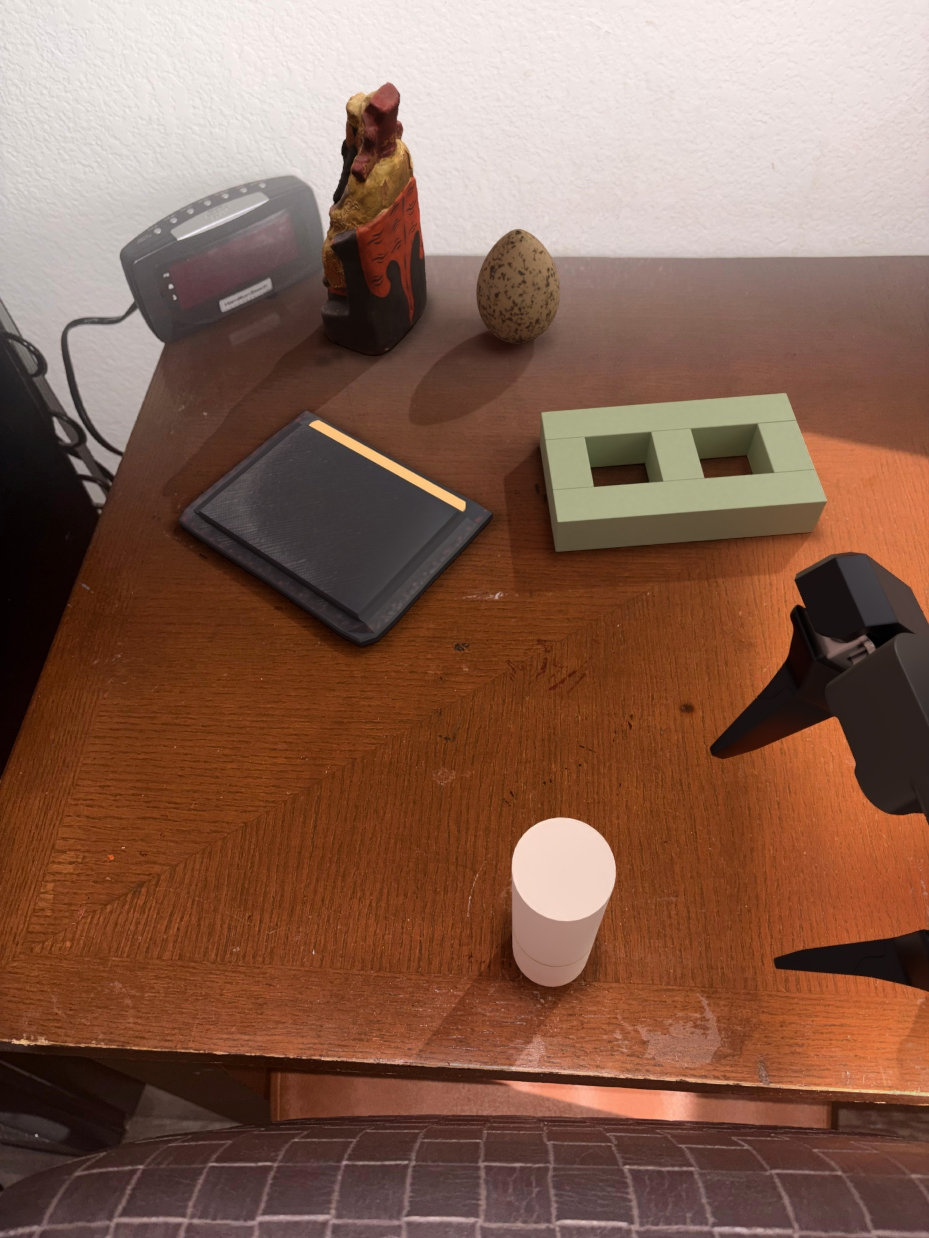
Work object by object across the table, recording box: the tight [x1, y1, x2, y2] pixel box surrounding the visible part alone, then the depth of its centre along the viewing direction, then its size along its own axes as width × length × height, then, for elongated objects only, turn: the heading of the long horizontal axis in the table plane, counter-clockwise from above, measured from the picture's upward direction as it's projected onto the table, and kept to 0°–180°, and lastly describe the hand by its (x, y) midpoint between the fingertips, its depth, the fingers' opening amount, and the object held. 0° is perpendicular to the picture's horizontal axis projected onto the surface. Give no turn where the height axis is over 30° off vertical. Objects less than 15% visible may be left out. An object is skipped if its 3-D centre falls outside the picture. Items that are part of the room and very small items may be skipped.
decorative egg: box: [475, 228, 561, 344], centre depth 71 cm, size 7×7×10 cm
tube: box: [511, 817, 617, 988], centre depth 41 cm, size 4×4×15 cm
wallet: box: [177, 409, 494, 648], centre depth 64 cm, size 20×2×15 cm
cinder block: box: [539, 392, 828, 553], centre depth 64 cm, size 11×19×4 cm, turn 93°
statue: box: [320, 81, 428, 356], centre depth 69 cm, size 12×8×20 cm, turn 149°
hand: (744, 852), depth 36 cm, fingers open, 9 cm apart
